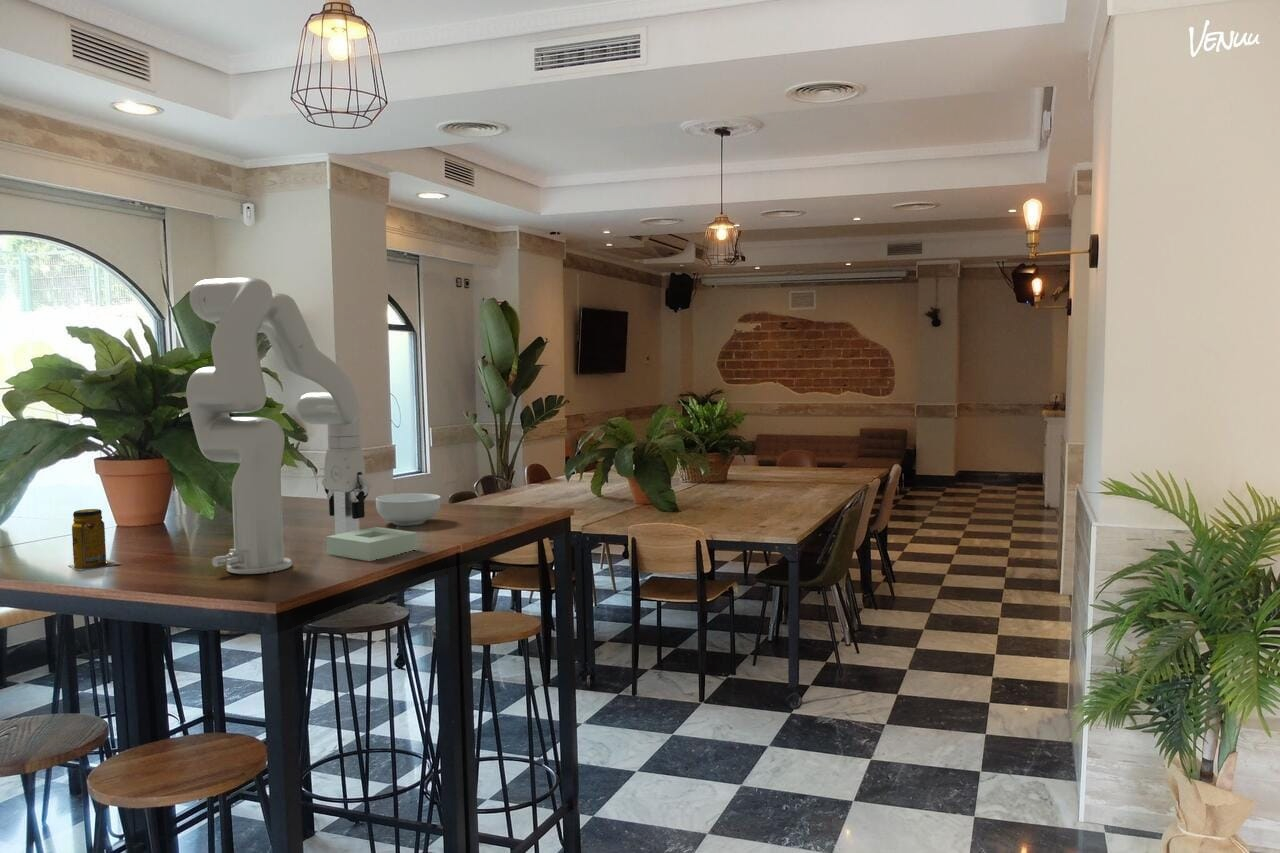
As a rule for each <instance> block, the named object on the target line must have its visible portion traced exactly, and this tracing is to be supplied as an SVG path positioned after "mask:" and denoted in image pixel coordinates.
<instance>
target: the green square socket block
mask: <svg viewBox="0 0 1280 853" xmlns="http://www.w3.org/2000/svg"><path fill="white" fill-rule="evenodd" d="M418 540H419V538H418V532H415V531H409V530H408V531H407V530H401V529H394V528H386V527H380V526H379V527H377V526H375V527H369V528H364V529H360V530H357V531H352V532H347V533H342V534H337V535H335V534H332V535H327V536H326V555H329V556H336V557H340V558H341V557H342V558H348V559H354V560H358V561H359V560H360V561H366V562H370V561H371V562H372V561H376V559H377V560H380V559H384V558H389V557H393V555H394V556H397V554H398V555H401V554H400V553H403V552H407V551H411V550H415V549H418V550H419V546H418V544H419V543H418ZM411 552H412V551H411ZM407 553H408V552H407ZM403 554H404V553H403Z"/></svg>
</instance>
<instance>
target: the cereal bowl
mask: <svg viewBox="0 0 1280 853" xmlns="http://www.w3.org/2000/svg"><path fill="white" fill-rule="evenodd" d="M441 500H442V498H441V495H438V494H433V493H415V492H413V493H411V492H409V493H408V492H407V493H391V494H384V495H380V496H376V498H375V508H376V511H377V513H378V514H379V516H380V517H381V518H383V519H384V520H386V521H389V522H391V523H392V525H396V526H417V525H422V524H424V523H425V522H426V521H428V520H430V519H433V518H434V517H436V515H437V514H438V513H439V511H440V508H441V502H442V501H441Z"/></svg>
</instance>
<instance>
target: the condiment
mask: <svg viewBox="0 0 1280 853" xmlns="http://www.w3.org/2000/svg"><path fill="white" fill-rule="evenodd" d="M102 512H103V511H102V510H101V509H98V508H87V509H80V510H79V509H78V510H75V511H74V512H73V514H72V517H73V523H72V524H71V534H72V554H73V555H72V556H73V564H69V565H68V566H69V567H70V568H71V569H73V570H75V571H83V570H84V571H86V570H92V569H98V568H102V567H109V566H110V567H111V566H115V565H121V564H122V562H121V563H120V562H118V561H116V560H114V559H107V550H106V547H107V546H106V529H105V528H106V526H105V522H104V521H103V520H102V519H103V515H102ZM106 562H107V563H106Z"/></svg>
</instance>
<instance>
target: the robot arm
mask: <svg viewBox="0 0 1280 853" xmlns="http://www.w3.org/2000/svg"><path fill="white" fill-rule="evenodd" d="M189 304H190V308H191V309H192V311H193V312H194V314H195V315H197V317H199V318H200V319H201V320H203V321H205V322H207V323H210V324H213V325H216V327H215V329H214V331H213V333H212V337H211V341H210V349H211V350H210V351H211V355H212V361H213V366H204V367H200V368H198V369H197V370H195V371H194V372H192V374H191V375H190V377H189V379H188V381H187V383H186V384H187V385H186V390H185V391H186V392H185V394H186V395H185V396H186V403H187V406H188V411H189V415H190V419H191V422H192V426H193V430H194V434H195V438H196V442H197V445H198V447H199V450H200V452H201V453H202V455H203V456H204V457H205V458H206V459H208V460H210V461H213V462H219V463H234V464H235V463H238V464H239V466H238V468H237V470H236V473H235V474H234V476H233V479H232V484H231V499H232V502H231V503H232V523H233V524H232V526H233V548H229V552H228V553H227V554H226V555H220V556H219V555H218V556H215V557H214V556H213V558H212V560H211V564H212V566H214V567H221V566H224V565H226V570H227V572H229V573H230V574H237V575H258V574H269V573H275V572H279V571H283V570H286V569H289V568H290V567H292V563H293V561H292V559H291V558H289V557H284V532H283V530H284V529H283V528H284V527H283V506H282V504H283V503H282V502H283V501H282V477H281V476H282V462H283V457H284V449H285V442H286V440H285V438H286V437H285V432H284V430H283V429H282V426H281V425H280V424H279V423H278V422H276V421H275V420H273V419H271V418H268V417H262V416H230V414H247V413H254V412H257V411H259V410H260V409H262V408H263V407H264V406H265V404H266V401H267V389H266V384H265V380H264V375H263V369H262V366H261V361H260V357H259V352H258V346H257V344H258V343H257V339H258V334H261V333H263V334H264V335H265V337H266V339H267V340H268V342H269V344H270V347H272V350H273V352H274V354H275V356H276V358H277V360H278V362H279V364H280V365H281V367H282V368H283V369H285V370H286V371H289V372H290V373H292V374H295V375H297V376H300V377H302V378H305V379H307V380H310V381H312V382H314V383H316V384H317V385H319V386H321V387H322V388H323V389H324V390H326V391H312V392H307V393H305V394H303V395H301V396H300V397H299V399H298V401H297V402H296V409H295V410H296V414H297V416H298V417H299V419H300V420H301V421H303V422H304V423H306V424H311V425H325V426H326V425H327V446H328V447H327V449H326V452H325V458H324V471H323V472H324V473H323V475H324V476H323V479H322V480H321V484H322V486H323V488H324V492H325V493H326V498H327V499H328V508H329V509H328V510H329V512H328V513H329V516H331V517H333V516H334V517H335V514H334V491H340V492H350V493H351V495H352V498H353V500H354V502H352V518H353V519H358V518H359V519H363V518H365V517H366V516H365V501H367V497H368V495H369V492H370V490H371V488H372V486H371V483H370V482H369V481H368V480H367V479H366V468H365V458H364V453H363V449H362V435H361V434H362V432H361V431H362V430H361V402H360V401H361V399H360V395H359V394H358V392H357V390H356V388H355V386H354V383H353V382H352V379H351V378H350V376H349V375H348V373H347V372H346V371H345V370H344V369H343V368H342V367H341V366H339V365H338V363H336V362H335V361H333V360H332V359H331V358H329V356H327V355H326V354H325V353H323V352H322V351H320V350H319V349H318V347H317V346H316V343H315V341H314V338H313V337H312V335H311V332H310V330H309V327H308V326H307V323H306V322H305V319H304V317H303V315H302V312H301V310H300V309H299V307H298V304H297V302H296V300H295V299H294V298H293V297H291V296H290V295H287V294H285V293H282V292H281V293H279V292H273V290H272V288H271V285H270V284H269V283H268V282H267V281H265V280H263V279H260V278H257V277H229V278H208V279H203V280H200V281H198V282H196V284H194V285H193V287H192V288H191V290H190V292H189ZM356 487H357V488H356ZM355 488H356V489H355ZM356 492H358V495H357V494H356ZM274 571H275V572H274ZM268 572H269V573H268Z"/></svg>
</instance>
